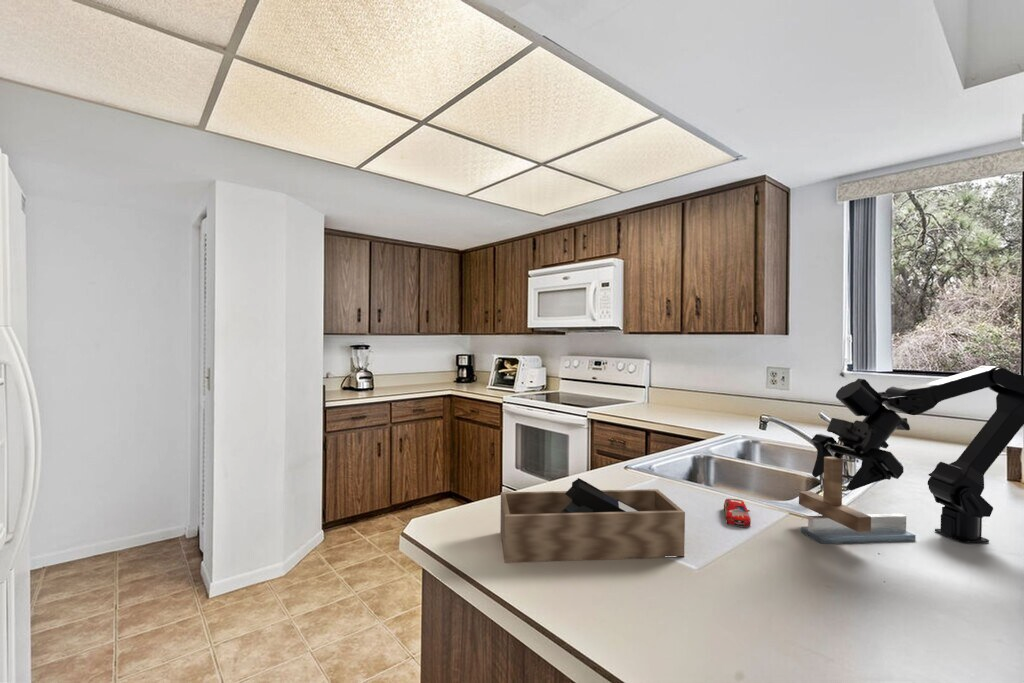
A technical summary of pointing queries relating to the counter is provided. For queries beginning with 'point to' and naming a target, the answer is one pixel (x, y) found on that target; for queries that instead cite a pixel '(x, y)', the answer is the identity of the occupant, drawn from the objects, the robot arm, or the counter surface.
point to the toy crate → (589, 528)
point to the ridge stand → (881, 531)
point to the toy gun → (592, 500)
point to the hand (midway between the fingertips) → (830, 482)
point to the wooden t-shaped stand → (834, 499)
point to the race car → (736, 513)
